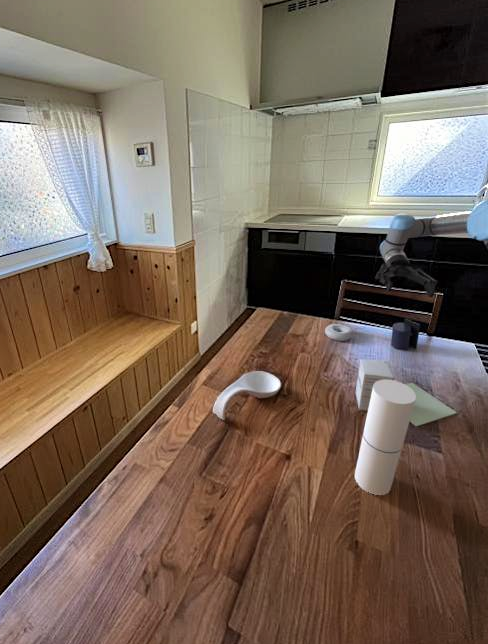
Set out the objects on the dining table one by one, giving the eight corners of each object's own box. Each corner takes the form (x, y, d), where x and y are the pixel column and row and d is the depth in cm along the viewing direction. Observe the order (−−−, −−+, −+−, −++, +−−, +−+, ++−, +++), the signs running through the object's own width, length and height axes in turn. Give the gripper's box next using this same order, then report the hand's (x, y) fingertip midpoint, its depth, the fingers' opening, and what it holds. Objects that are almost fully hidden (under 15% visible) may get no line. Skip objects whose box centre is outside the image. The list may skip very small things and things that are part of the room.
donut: (322, 329, 137) (326, 341, 128) (323, 321, 136) (327, 333, 127) (349, 330, 135) (354, 343, 126) (350, 323, 133) (355, 335, 124)
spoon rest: (259, 375, 112) (259, 357, 109) (288, 392, 103) (289, 373, 100) (204, 407, 99) (204, 388, 96) (232, 430, 90) (232, 410, 87)
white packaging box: (354, 393, 101) (359, 358, 96) (382, 396, 98) (389, 360, 93) (357, 410, 95) (363, 373, 89) (387, 414, 92) (395, 377, 87)
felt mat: (456, 413, 91) (457, 412, 91) (416, 426, 88) (416, 425, 88) (411, 383, 104) (412, 382, 103) (374, 393, 100) (374, 393, 100)
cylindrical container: (349, 481, 75) (367, 392, 65) (361, 461, 79) (380, 375, 69) (384, 502, 70) (409, 409, 60) (395, 479, 75) (420, 389, 64)
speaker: (406, 340, 125) (410, 316, 120) (416, 349, 120) (421, 324, 115) (386, 343, 125) (389, 320, 120) (396, 352, 120) (399, 328, 115)
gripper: (427, 275, 134) (445, 305, 118) (360, 266, 139) (369, 294, 123) (435, 258, 130) (456, 288, 113) (367, 250, 135) (376, 277, 118)
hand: (411, 291), depth 118 cm, fingers open, 13 cm apart
